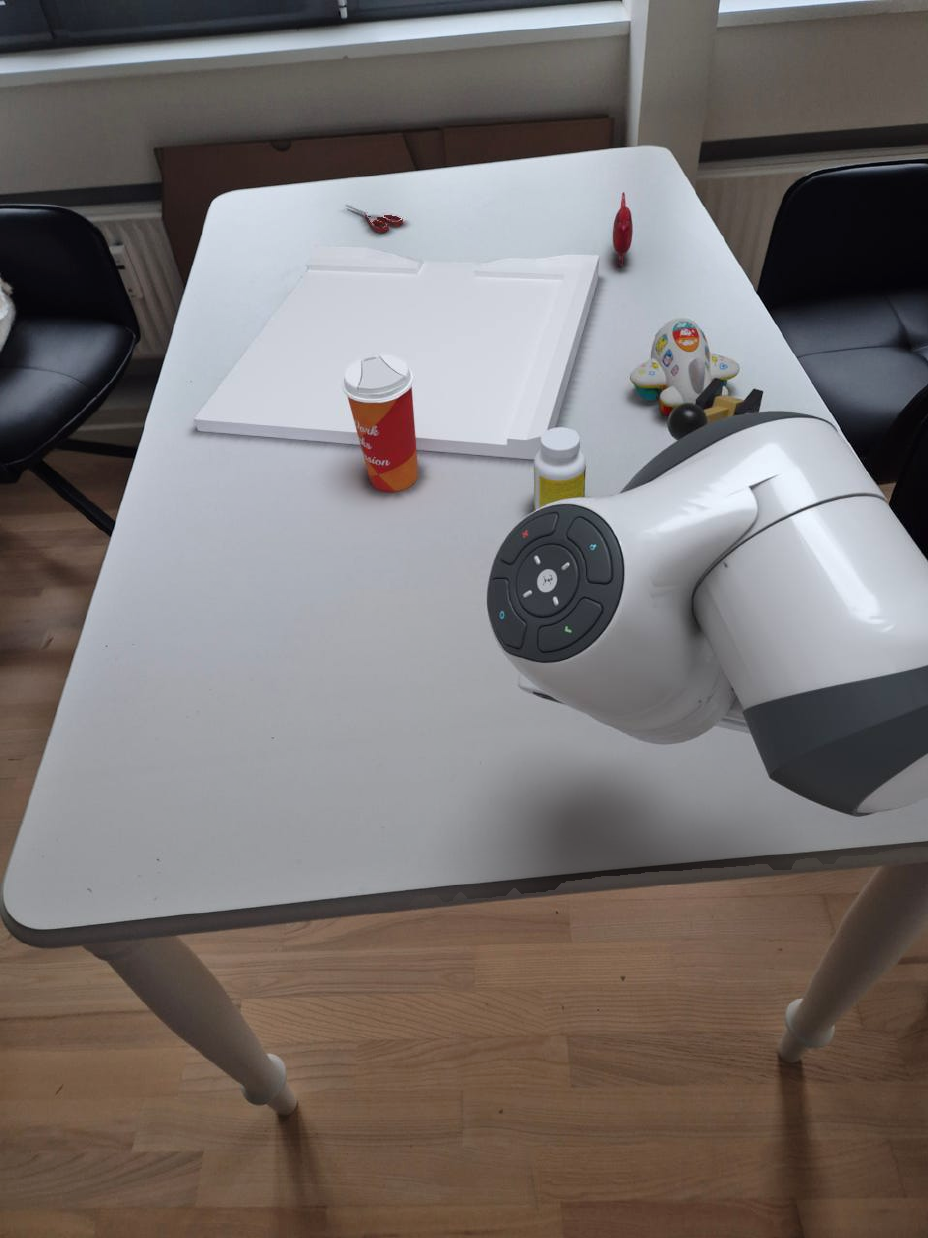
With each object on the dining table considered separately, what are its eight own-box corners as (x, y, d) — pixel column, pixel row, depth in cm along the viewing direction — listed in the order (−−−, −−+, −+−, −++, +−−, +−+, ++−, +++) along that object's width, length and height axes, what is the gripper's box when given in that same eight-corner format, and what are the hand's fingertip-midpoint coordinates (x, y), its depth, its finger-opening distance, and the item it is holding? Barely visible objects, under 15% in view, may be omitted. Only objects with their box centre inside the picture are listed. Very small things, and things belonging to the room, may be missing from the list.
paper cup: (355, 466, 103) (333, 361, 92) (417, 450, 104) (402, 345, 94) (370, 505, 98) (348, 398, 87) (435, 489, 99) (421, 381, 88)
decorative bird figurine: (610, 283, 129) (614, 214, 121) (612, 231, 140) (615, 166, 133) (630, 282, 128) (635, 214, 121) (630, 231, 140) (634, 165, 133)
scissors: (380, 234, 146) (380, 228, 145) (334, 212, 154) (333, 207, 153) (405, 223, 148) (405, 217, 148) (358, 202, 156) (357, 197, 155)
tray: (198, 430, 110) (189, 406, 108) (319, 267, 139) (315, 245, 137) (545, 460, 101) (545, 435, 98) (598, 278, 130) (599, 255, 127)
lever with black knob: (692, 449, 74) (704, 410, 73) (656, 438, 76) (667, 399, 74) (742, 431, 85) (753, 397, 84) (710, 421, 87) (720, 387, 85)
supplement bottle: (593, 520, 93) (596, 445, 86) (547, 534, 92) (547, 460, 85) (570, 491, 97) (571, 417, 89) (526, 505, 95) (524, 431, 88)
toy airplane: (647, 375, 96) (621, 303, 106) (639, 438, 103) (615, 365, 113) (765, 364, 96) (728, 293, 106) (749, 427, 103) (716, 355, 113)
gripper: (863, 642, 45) (883, 695, 56) (520, 588, 55) (596, 641, 67) (838, 761, 44) (864, 790, 55) (494, 683, 55) (576, 720, 66)
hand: (715, 708), depth 61 cm, fingers open, 8 cm apart
